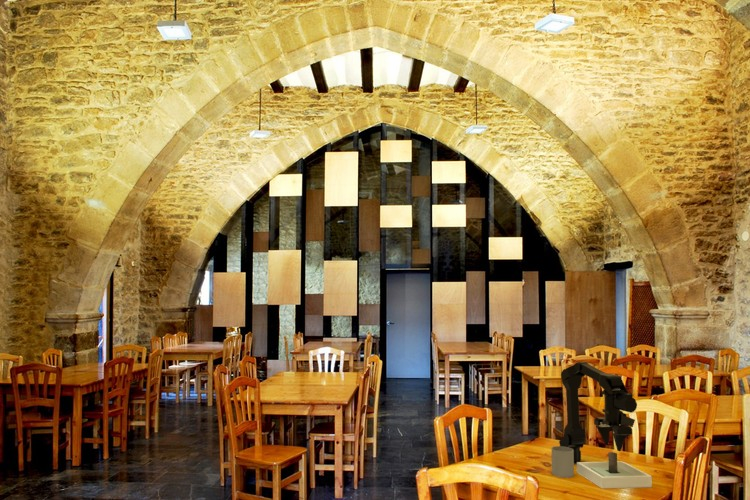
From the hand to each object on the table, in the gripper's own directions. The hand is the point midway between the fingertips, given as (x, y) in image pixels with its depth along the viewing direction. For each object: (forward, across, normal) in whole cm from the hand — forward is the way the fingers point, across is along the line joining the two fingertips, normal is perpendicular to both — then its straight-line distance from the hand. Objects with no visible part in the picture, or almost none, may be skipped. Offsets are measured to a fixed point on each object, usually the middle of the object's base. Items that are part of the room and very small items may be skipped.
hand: (612, 448), depth 234 cm
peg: (+11, 0, 0) cm, 11 cm away
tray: (+12, 0, 0) cm, 12 cm away
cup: (+12, +8, +17) cm, 23 cm away
